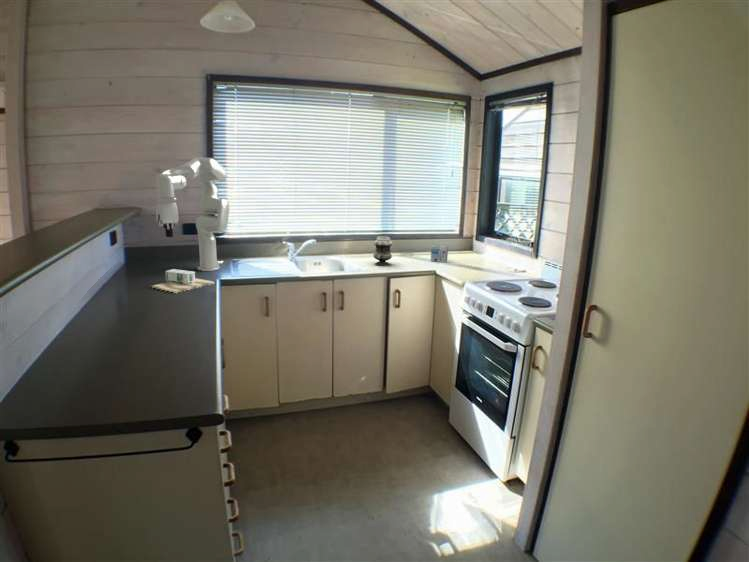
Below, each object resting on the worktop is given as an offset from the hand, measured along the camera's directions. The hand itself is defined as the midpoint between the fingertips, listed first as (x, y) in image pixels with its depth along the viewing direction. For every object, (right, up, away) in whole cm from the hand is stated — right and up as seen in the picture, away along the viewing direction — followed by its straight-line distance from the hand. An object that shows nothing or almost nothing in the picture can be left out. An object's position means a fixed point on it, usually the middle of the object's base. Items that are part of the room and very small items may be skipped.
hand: (169, 236), depth 242 cm
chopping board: (+7, -25, +1) cm, 26 cm away
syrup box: (-3, -19, +6) cm, 21 cm away
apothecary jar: (+110, -12, +69) cm, 130 cm away
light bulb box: (+149, -9, +84) cm, 171 cm away
